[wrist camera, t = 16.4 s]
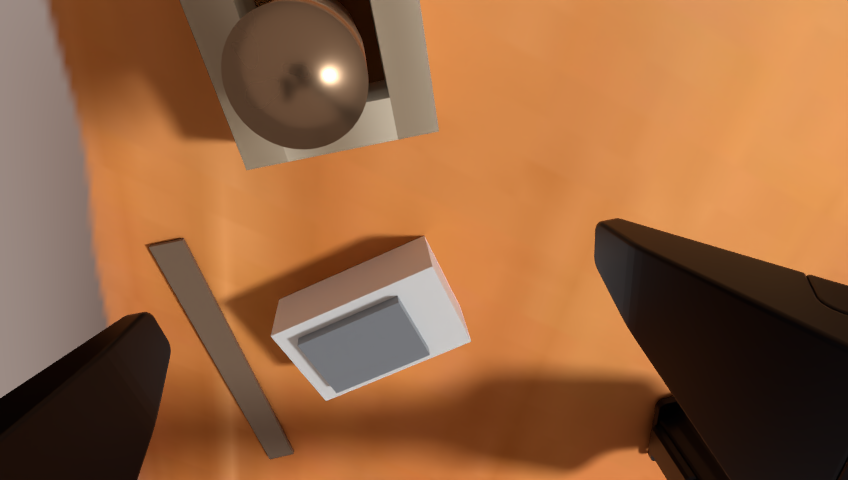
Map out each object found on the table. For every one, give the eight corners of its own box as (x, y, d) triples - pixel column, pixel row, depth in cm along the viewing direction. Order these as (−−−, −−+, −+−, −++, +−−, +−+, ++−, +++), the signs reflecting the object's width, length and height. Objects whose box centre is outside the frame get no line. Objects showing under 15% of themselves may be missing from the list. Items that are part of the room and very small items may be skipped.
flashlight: (371, 72, 18) (381, 135, 11) (290, 88, 18) (252, 161, 11) (350, -21, 16) (349, -13, 9) (262, -4, 16) (196, 16, 9)
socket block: (394, -96, 15) (403, -110, 13) (427, 109, 19) (438, 131, 16) (188, -58, 15) (154, -64, 13) (261, 142, 19) (246, 170, 16)
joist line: (183, 237, 20) (182, 240, 20) (293, 451, 29) (293, 454, 29) (150, 245, 20) (148, 247, 20) (270, 456, 29) (269, 459, 29)
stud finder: (423, 232, 22) (434, 272, 19) (459, 303, 25) (473, 348, 22) (280, 295, 23) (268, 343, 20) (328, 358, 26) (325, 409, 23)
